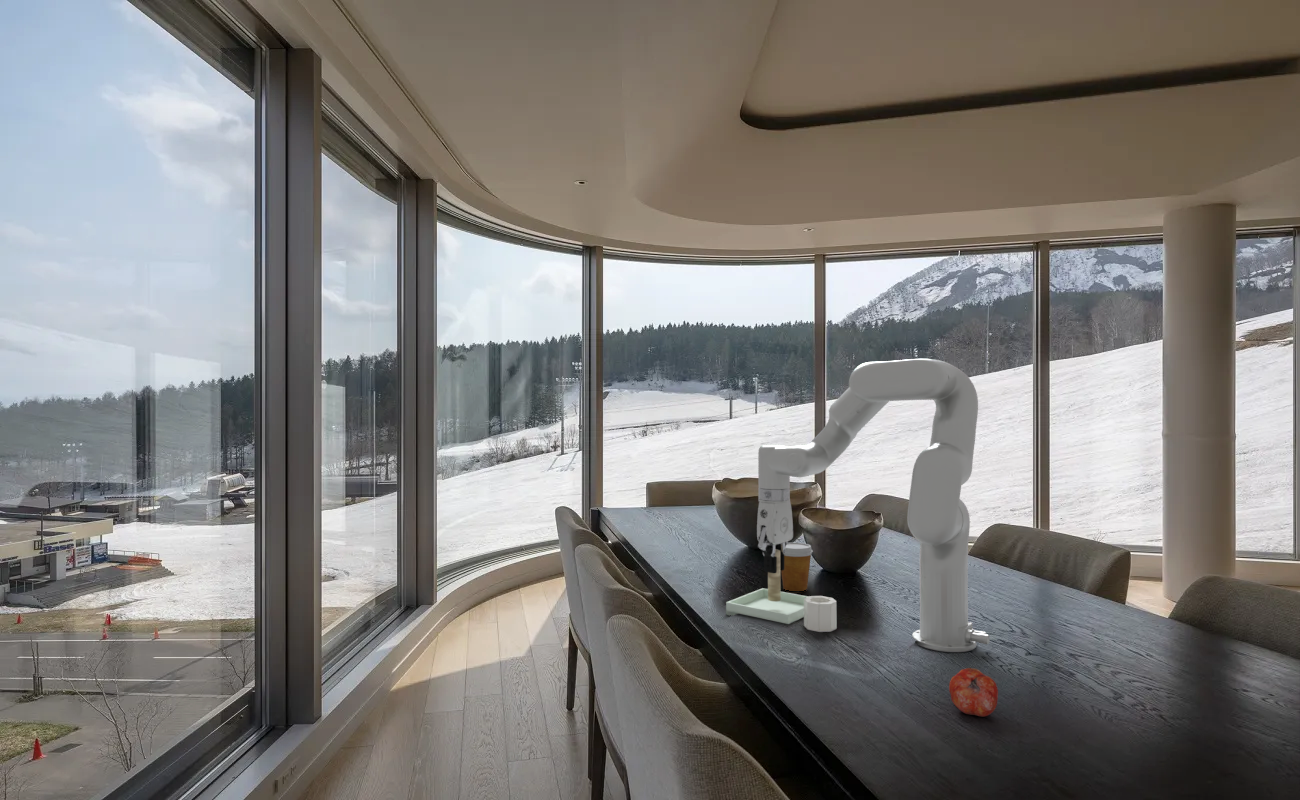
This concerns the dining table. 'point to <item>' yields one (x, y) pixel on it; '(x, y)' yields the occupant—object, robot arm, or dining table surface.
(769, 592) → the wooden pin
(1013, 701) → the dining table surface
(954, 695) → the red tomato
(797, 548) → the disposable coffee cup
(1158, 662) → the dining table surface
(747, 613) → the tray
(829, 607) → the cup holder
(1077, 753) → the dining table surface
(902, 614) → the dining table surface
